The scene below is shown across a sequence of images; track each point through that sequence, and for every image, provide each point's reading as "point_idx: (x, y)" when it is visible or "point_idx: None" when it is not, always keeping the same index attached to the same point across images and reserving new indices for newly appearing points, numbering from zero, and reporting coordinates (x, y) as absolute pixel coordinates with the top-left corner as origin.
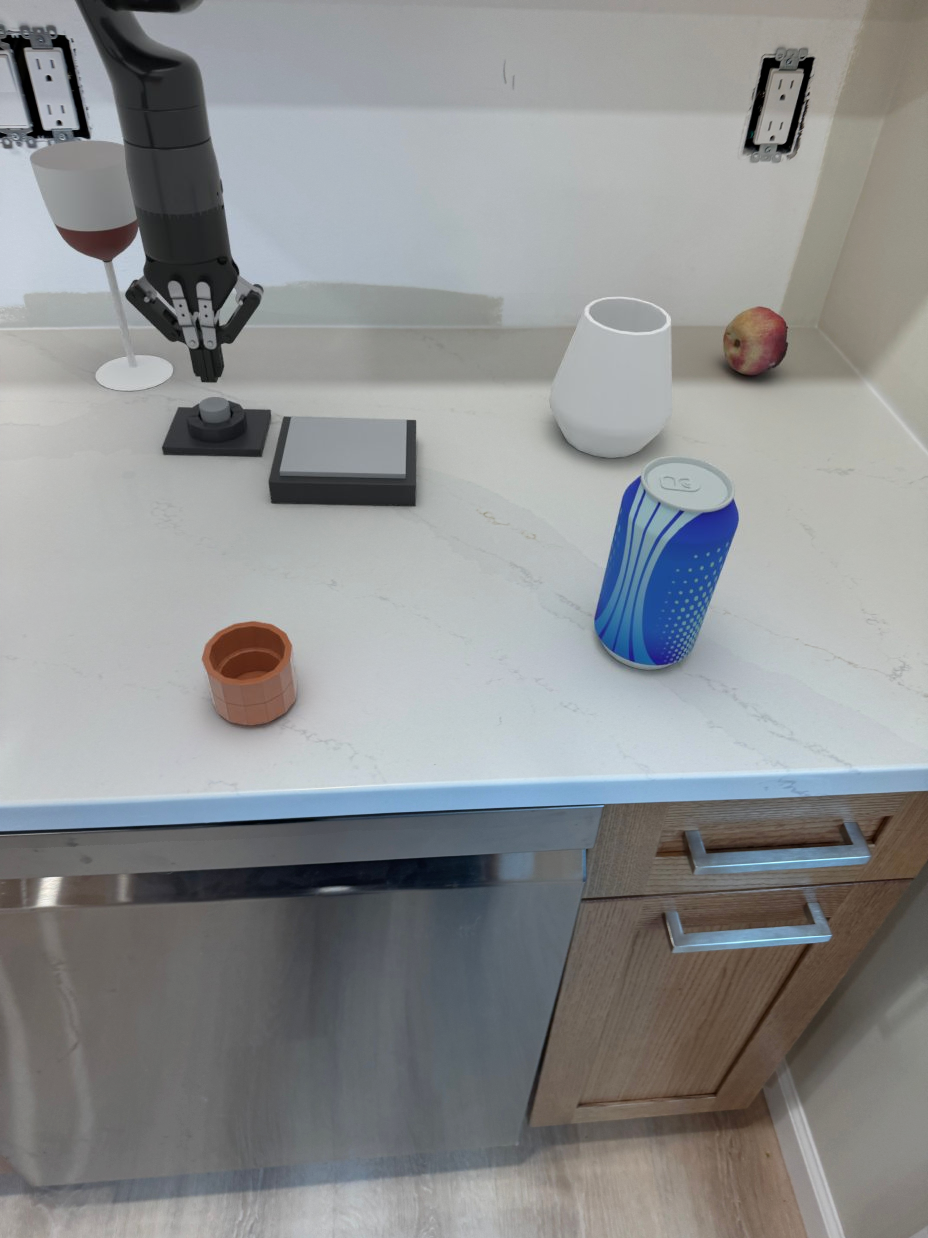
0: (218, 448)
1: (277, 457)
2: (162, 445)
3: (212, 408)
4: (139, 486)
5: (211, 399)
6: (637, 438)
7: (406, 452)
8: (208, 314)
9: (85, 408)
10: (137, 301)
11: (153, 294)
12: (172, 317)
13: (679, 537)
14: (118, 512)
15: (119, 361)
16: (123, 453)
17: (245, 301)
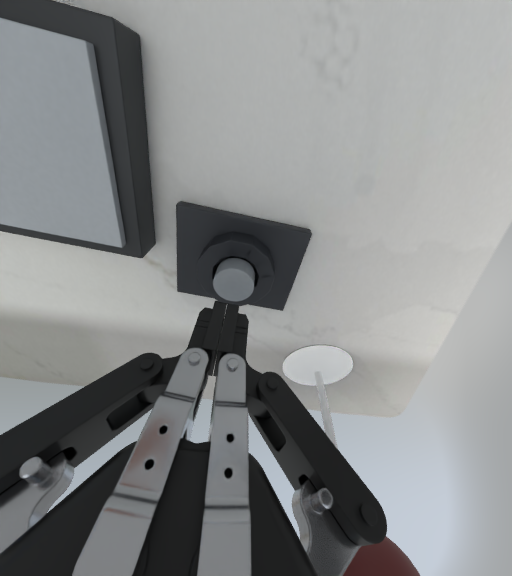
0: (236, 217)
1: (120, 131)
2: (310, 237)
3: (235, 275)
4: (357, 148)
5: (237, 295)
6: None
7: None
8: (155, 432)
9: (375, 326)
10: (349, 491)
11: (303, 509)
12: (266, 427)
13: None
14: (413, 58)
15: (327, 380)
16: (358, 240)
17: (5, 471)
